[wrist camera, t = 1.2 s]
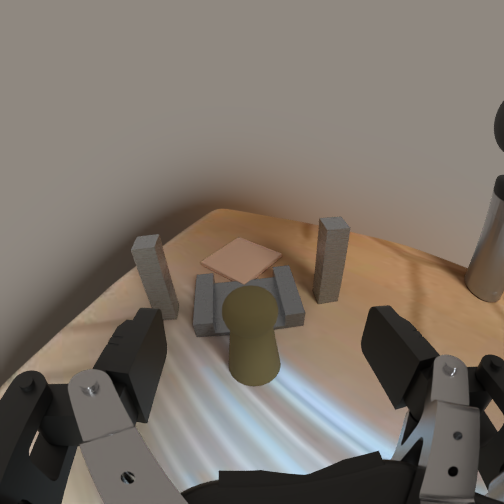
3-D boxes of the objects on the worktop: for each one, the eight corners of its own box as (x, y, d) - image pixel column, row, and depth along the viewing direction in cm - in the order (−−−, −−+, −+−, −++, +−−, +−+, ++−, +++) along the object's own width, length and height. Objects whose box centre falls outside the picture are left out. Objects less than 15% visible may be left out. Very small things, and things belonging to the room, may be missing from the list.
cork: (270, 392, 27) (270, 330, 21) (220, 377, 29) (202, 312, 23) (286, 351, 31) (291, 282, 25) (240, 339, 33) (231, 271, 27)
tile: (238, 239, 53) (238, 236, 53) (281, 256, 48) (281, 253, 48) (200, 264, 47) (200, 261, 47) (244, 287, 42) (244, 284, 41)
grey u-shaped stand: (345, 318, 35) (362, 243, 28) (153, 339, 34) (122, 267, 27) (324, 273, 43) (331, 205, 37) (163, 290, 42) (143, 223, 35)
